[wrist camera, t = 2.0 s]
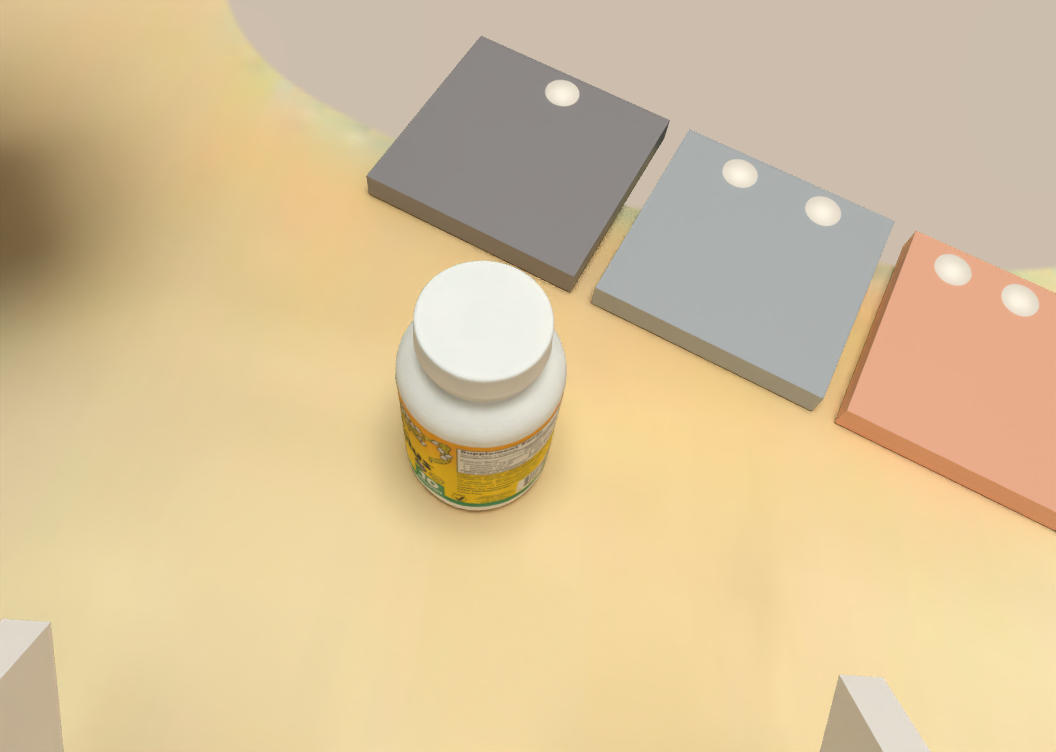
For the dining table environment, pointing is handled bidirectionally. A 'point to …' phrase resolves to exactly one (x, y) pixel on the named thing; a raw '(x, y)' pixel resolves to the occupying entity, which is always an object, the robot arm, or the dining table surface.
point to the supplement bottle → (480, 384)
